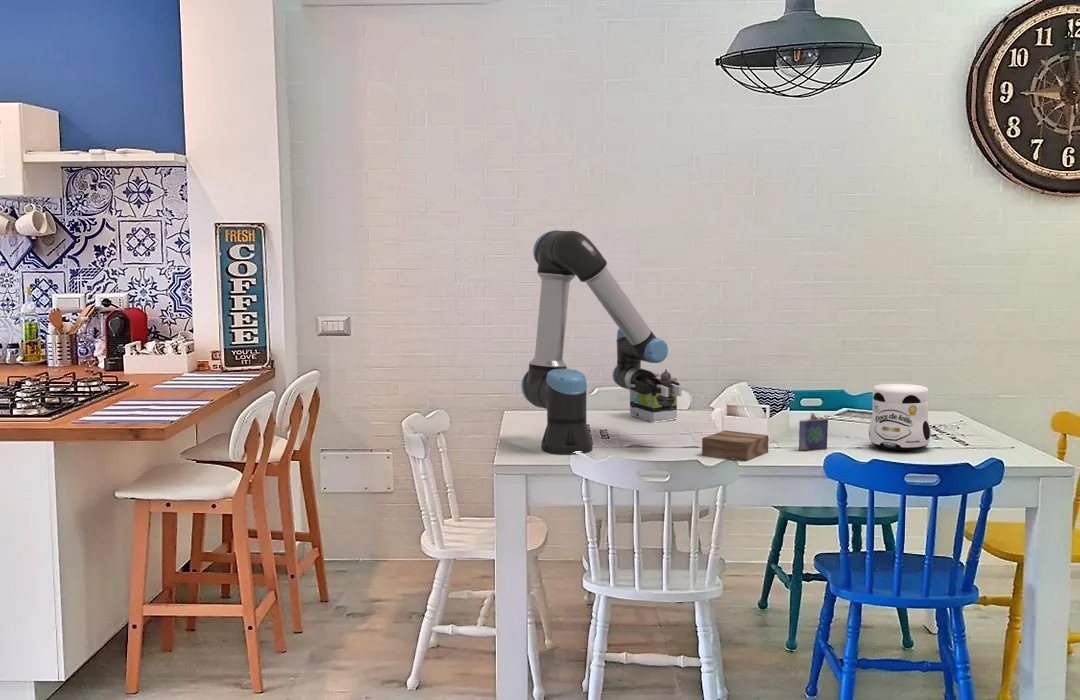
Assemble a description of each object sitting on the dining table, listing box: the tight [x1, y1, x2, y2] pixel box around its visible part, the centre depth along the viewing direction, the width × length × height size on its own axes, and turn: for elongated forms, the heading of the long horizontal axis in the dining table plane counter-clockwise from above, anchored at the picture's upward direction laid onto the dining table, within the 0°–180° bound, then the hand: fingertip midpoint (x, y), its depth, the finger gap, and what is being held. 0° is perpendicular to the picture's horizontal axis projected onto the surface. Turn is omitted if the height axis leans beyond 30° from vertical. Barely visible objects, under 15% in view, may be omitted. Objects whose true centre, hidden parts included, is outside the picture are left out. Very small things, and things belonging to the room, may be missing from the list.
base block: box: [701, 429, 769, 462], centre depth 320 cm, size 14×14×5 cm
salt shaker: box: [656, 369, 676, 411], centre depth 325 cm, size 6×6×12 cm
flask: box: [798, 412, 829, 452], centre depth 324 cm, size 9×3×11 cm, turn 109°
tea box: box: [629, 372, 678, 423], centre depth 378 cm, size 15×10×15 cm, turn 28°
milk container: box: [868, 383, 932, 451], centre depth 325 cm, size 17×17×18 cm
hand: (673, 391), depth 320 cm, fingers closed on salt shaker, 3 cm apart
